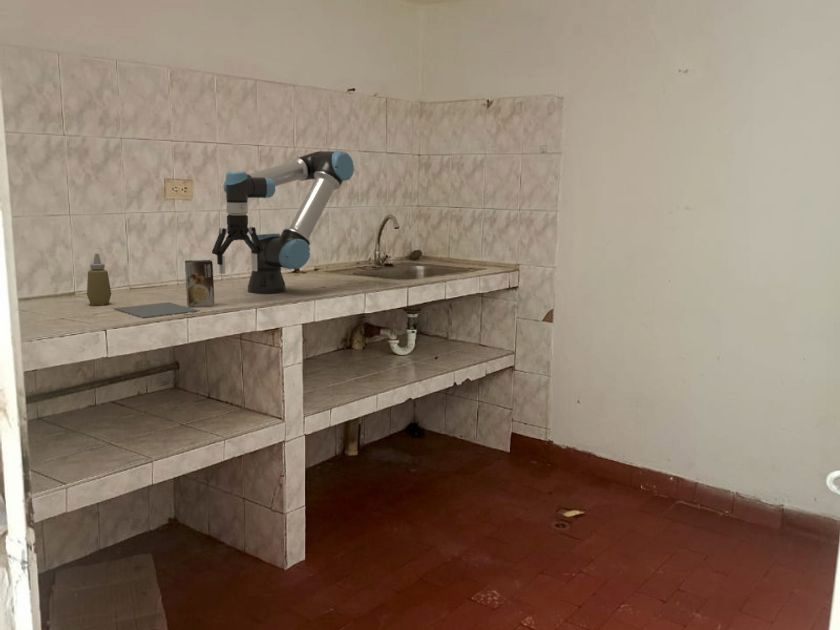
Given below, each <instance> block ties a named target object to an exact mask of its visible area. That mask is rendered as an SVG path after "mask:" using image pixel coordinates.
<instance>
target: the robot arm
mask: <svg viewBox="0 0 840 630" xmlns="http://www.w3.org/2000/svg"><path fill="white" fill-rule="evenodd" d="M354 171H355V165H354V160H353V159H352V156H351V155H350V154H349V153H348V152H345V151H344V150H342V151H341V150H334V151H329V150H328V151H327V150H325V151H324V150H320V151H314V152H311V153H307V154H305V155H302V156H300V157H296V158H294V159H292V161H290V162H287V163H283V164H279V165H275V166H273V167H268V168H265V169H261V170H258V171H254V172H250V173H248V174H247V172H246V171H227V172H226V174H225V180H224V181H223V186H222V188H223V191H224V193H225V195H226V196H225V197H226V199H225V200H226V214H227V215H226V225H227V228H224V227H220V228H219V229H218V235H217V236H218V237H217V238H216V241H215V243H214V245H213V248H212V251H211V253H212V254H213V255H216V260H217V261H216V262H217V265H218V267H219V272H218V273H219V274H221V275H225V274H226V257H225V255H224V254H225V252H226V251H227V250H228V248H229V246H230V245H231V244H232V243H233V242H234V241H239V240H240V241H244V242H245V244H246V245H247V246H248V248H249V249H250V252H251V253H250V254H251V255H250V258H251V274H250V277H249V281H248V284H247V292H249V293H255V294H278V293H283V292H286V291H287V290H286V287H287V286H286V283H285V280H284V277H283V274H282V269H283V268H285V269H288V270H292V269H294V270H297V269H300V268H302V267H303V266H305V265H306V264H307V262H308V261H309V259H310V257H311V252H310V251H311V248H310V245H311V241H310V237H311V235H312V233H313V230H314V229H315V228H316V225H317V223H318V221H319V219H320V218H321V216H322V213H323V212H324V210H325V208H326V206H327V204H328V202H329V201H330V199H331V196H332V195H333V193H334V191H335V190H338V189H340V188H341V185H342V184H343V182H344V181H349V180H350V179H352V177H353V175H354ZM307 180H314V181H313V183H312V184H311V187H310V189H309V190H308V192H307V195H306V196H305V198H304V200H303V202H302V204H301V205H300V207H299V209H298V211H297V212H296V214H295V216H294V218H293V220H292V222H291V224H290V225H289V227H287V228H284V229H283V230H282V232H281V234H280V233H266V234H265V233H264V234H257V232H256V231H257V230H256V227H254V226H250V227H248V225H249V215H247V214H248V211H249V210H248V207H249V206H248V199H268V198H272V197H273V196H274V195H275V194H276V193H275V192H276V187H278V186H281V185H284V184H289V183H291V182H295V181H300V182H304V181H307ZM248 234H249V235H250V236H249V235H248ZM226 235H227V236H226ZM250 237H251V238H250Z"/></svg>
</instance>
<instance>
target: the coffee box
mask: <svg viewBox="0 0 840 630" xmlns="http://www.w3.org/2000/svg"><path fill="white" fill-rule="evenodd" d="M213 266H214V263H213V261H212V260H210V259H200V260H199V259H198V260H197V259H195V260H193V259H191V260H184V271H185V288H186V289H185V291H186V293H185V294H186V305H187V307H188V308H199V307H200V308H201V307H203V308H204V307H215V287H214V285H215V284H214V282H215V281H214V268H213Z"/></svg>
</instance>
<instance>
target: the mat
mask: <svg viewBox="0 0 840 630" xmlns="http://www.w3.org/2000/svg"><path fill="white" fill-rule="evenodd" d="M114 309H115V311H118V312H121V313H124V312H125V313H124V314H127V313H128V315H130V314H132V315H131V316H134V315H135V316H134V317H137V316H138V317H137V318H140V317H142V318H141V319H148V318H147V317H151V318H156V317H155V316H159V317H164V316H163V315H167V316H173V315H172V314H175V315H180V314H179V313H184V314H189V313H188V312H192V313H198V312H197V311H201V310H200V309H196V308H193V307H188V306H184V305H181V304H176V303H173V302H168V301H167V302H161V303H151V304H141V305H132V306H131V305H130V306H123V307H114V308H113V310H114Z"/></svg>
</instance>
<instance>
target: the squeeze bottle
mask: <svg viewBox="0 0 840 630" xmlns="http://www.w3.org/2000/svg"><path fill="white" fill-rule="evenodd" d="M89 265H90V270H88V271H87V285H86V287H87V288H86V296H87V299H88V301H89V304H90V305H91V306H105V305H106V306H107V305H109V304H110V300H111V296H112V290H111V285H110V284H111V283H110V278H109V272H108V270H106V269H105V268H106V266H105V263H102V261H101V258H100V254H99V253H94V258H93V263H91V264H89Z"/></svg>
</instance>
